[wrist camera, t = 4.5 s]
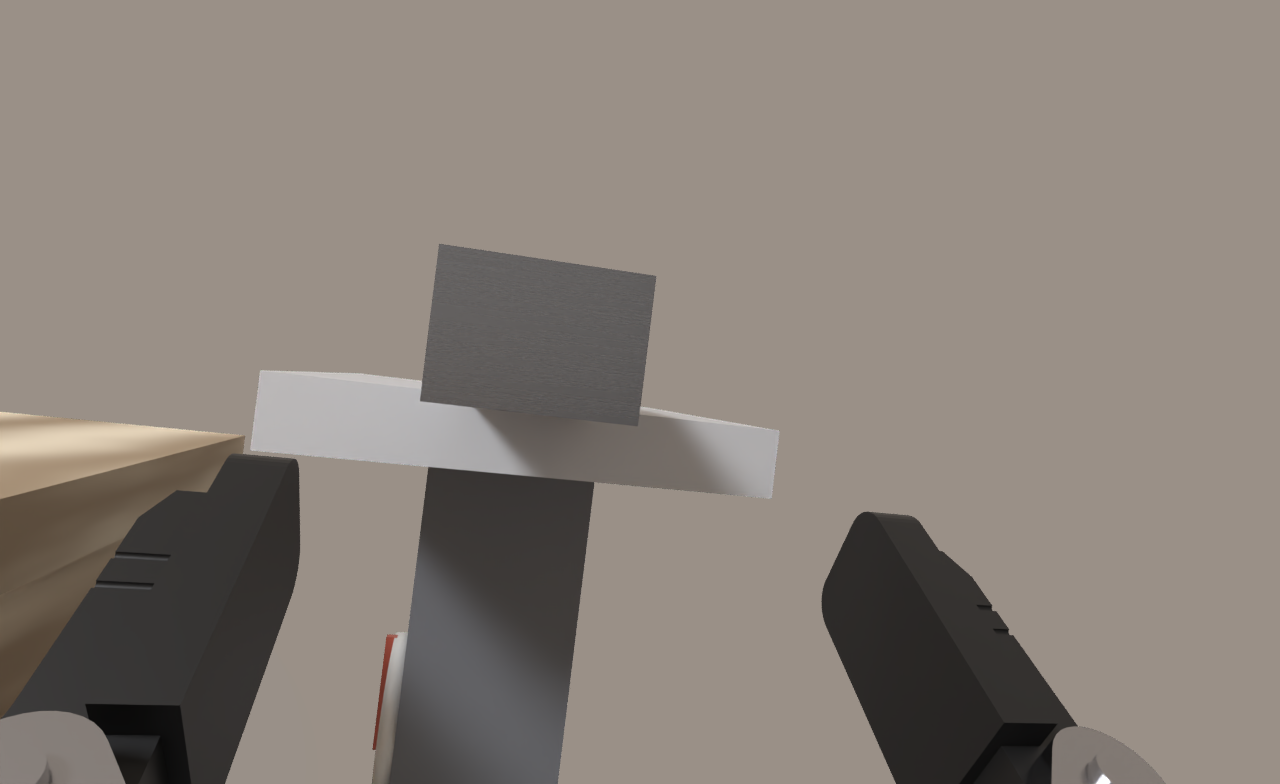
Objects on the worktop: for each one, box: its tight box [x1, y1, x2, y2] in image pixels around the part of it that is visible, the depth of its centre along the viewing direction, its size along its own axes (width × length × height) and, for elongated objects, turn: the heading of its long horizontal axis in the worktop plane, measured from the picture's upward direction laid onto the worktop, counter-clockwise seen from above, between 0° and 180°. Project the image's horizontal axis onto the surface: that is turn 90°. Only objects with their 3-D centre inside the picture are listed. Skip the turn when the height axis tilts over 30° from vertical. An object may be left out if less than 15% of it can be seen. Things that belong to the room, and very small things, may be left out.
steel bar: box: [420, 244, 656, 426], centre depth 24 cm, size 4×24×2 cm, turn 9°
